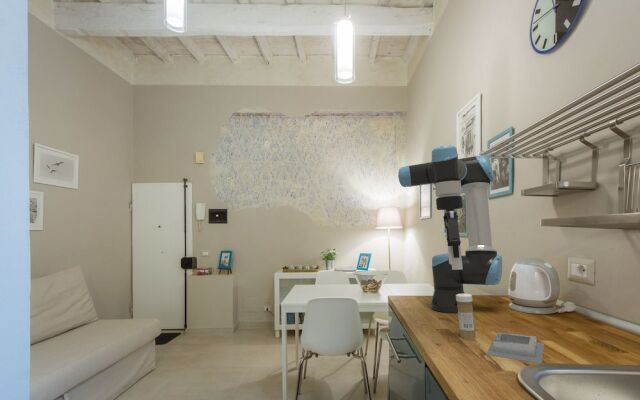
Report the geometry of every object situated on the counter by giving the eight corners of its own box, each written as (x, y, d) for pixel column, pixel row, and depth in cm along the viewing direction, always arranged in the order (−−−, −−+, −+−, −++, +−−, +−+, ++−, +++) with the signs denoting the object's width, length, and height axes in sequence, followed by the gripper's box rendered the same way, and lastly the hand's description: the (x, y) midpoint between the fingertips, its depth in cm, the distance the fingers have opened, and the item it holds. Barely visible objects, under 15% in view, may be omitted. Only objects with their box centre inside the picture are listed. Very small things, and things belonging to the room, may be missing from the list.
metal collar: (499, 341, 93) (498, 332, 93) (537, 346, 87) (535, 336, 88) (494, 351, 85) (493, 341, 86) (535, 357, 80) (533, 346, 80)
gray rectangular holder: (495, 340, 96) (495, 337, 96) (544, 346, 89) (544, 343, 89) (486, 358, 83) (485, 354, 83) (542, 367, 76) (541, 363, 76)
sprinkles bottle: (477, 338, 99) (472, 293, 100) (475, 343, 95) (470, 296, 96) (461, 337, 101) (457, 292, 102) (458, 341, 97) (454, 295, 99)
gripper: (435, 200, 113) (440, 262, 111) (436, 193, 89) (443, 272, 87) (458, 198, 110) (464, 261, 108) (466, 191, 87) (474, 271, 85)
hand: (455, 266), depth 98 cm, fingers open, 13 cm apart
